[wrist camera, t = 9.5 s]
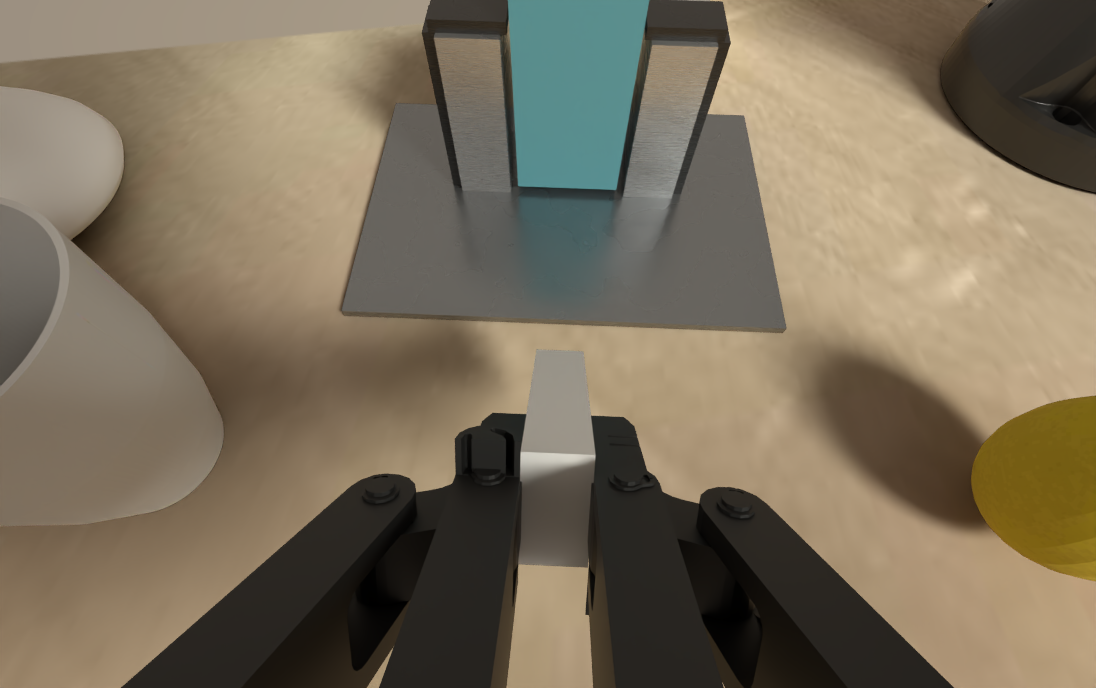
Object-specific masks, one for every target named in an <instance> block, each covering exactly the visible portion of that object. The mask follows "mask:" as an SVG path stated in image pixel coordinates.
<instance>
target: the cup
mask: <svg viewBox="0 0 1096 688" xmlns="http://www.w3.org/2000/svg"><path fill="white" fill-rule="evenodd" d="M223 439H224V426H223V421H222V418H221V415H220V413H219V411H218V409H217V407H216V405H215V403H214V401H213V399H212V397H211V394H210V392H209V390H208V388H207V386H206V384H205V382H204V380H203V378H202V376H201V375H200V373H199V372H198V370H197V369H196V368H195V367H194V365H193V364H192V363H191V362H190V361H189V359H188V358H187V357H186V356H185V355H184V353H183V352H182V351H181V350H180V349H179V347H178V346H177V345H176V344H175V343H174V341H173V340H172V339H171V338H170V337H169V335H168V334H167V333H166V332H165V330H164V329H163V328H162V327H161V326H160V324H159V323H158V322H157V321H156V320H155V318H154V317H153V316H152V315H151V314H150V313H149V311H148V310H147V309H146V308H144V307H143V306H142V305H141V304H140V303H139V302H138V301H137V300H136V299H135V298H133V297H132V296H131V295H130V294H129V293H128V292H127V291H126V290H125V289H123V288H122V287H121V286H120V285H119V284H118V283H117V282H116V281H115V280H114V279H112V278H111V277H110V276H109V275H108V274H107V273H106V272H105V271H104V270H103V269H101V268H100V267H99V266H98V265H97V264H96V263H95V262H94V261H93V260H92V259H90V258H89V257H88V256H87V255H86V254H85V253H84V252H83V251H82V250H81V249H79V248H78V247H77V246H76V245H75V244H74V243H73V242H72V241H71V240H70V239H68V238H67V237H66V236H65V235H64V234H63V233H62V232H61V231H60V230H58V229H57V228H56V227H55V226H54V225H53V224H52V223H51V222H50V221H49V220H47V219H46V218H45V217H44V216H43V215H41V214H40V213H39V212H37V211H35V210H34V209H32V208H30V207H28V206H26V205H24V204H21V203H19V202H16V201H13V200H10V199H6V198H2V197H0V526H39V525H82V524H91V523H96V522H102V521H107V520H113V519H118V518H123V517H129V516H134V515H139V514H145V513H150V512H154V511H158V510H161V509H164V508H166V507H168V506H170V505H172V504H174V503H176V502H178V501H180V500H181V499H183V498H184V497H186V496H187V495H188V494H190V493H191V492H192V491H193V490H194V489H196V488H197V487H198V486H199V485H200V484H201V483H202V482H203V480H204V479H205V478H206V477H207V476H208V474H209V473H210V471H211V470H212V468H213V467H214V465H215V463H216V461H217V459H218V457H219V455H220V452H221V449H222V445H223Z"/></svg>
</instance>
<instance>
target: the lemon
mask: <svg viewBox="0 0 1096 688" xmlns="http://www.w3.org/2000/svg"><path fill="white" fill-rule="evenodd" d="M971 485H972V491H973V496H974V500H975V502H976V504H977V507H978V509H979V512H980V514H981V515H982V517H983V518H984V519H985V521H986V522H987V524H988V525H989V527H990V528H991V529H992V530H993V531H994V532H995V533H996V534H997V535H998V536H999V537H1000V538H1001V539H1002V540H1003V541H1004V542H1005V543H1006V544H1007V545H1009V546H1010V547H1012V548H1013V549H1014V550H1016V551H1017V552H1018V553H1020V554H1021V555H1023V556H1024V557H1026V558H1028V559H1030V560H1032V561H1034V562H1036V563H1038V564H1040V565H1042V566H1044V567H1046V568H1048V569H1050V570H1053V571H1056V572H1059V573H1063V574H1066V575H1070V576H1074V577H1078V578H1082V579H1087V580H1091V581H1096V396H1089V397H1080V398H1073V399H1067V400H1062V401H1057V402H1054V403H1050V404H1046V405H1044V406H1041V407H1038V408H1036V409H1033V410H1031V411H1029V412H1027V413H1024V414H1022V415H1020V416H1018V417H1016V418H1013V419H1012V420H1010V421H1008V422H1007V423H1005V424H1004V425H1002V426H1001V427H1000V428H998V429H997V430H996V431H995V432H994V433H993V434H992V435H991V436H990V437H989V438H988V439H987V440H986V441H985V442H984V443H983V445H982V446H981V448H980V449H979V452H978V454H977V456H976V458H975V460H974V463H973V466H972V476H971Z"/></svg>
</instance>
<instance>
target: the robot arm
mask: <svg viewBox="0 0 1096 688" xmlns="http://www.w3.org/2000/svg"><path fill="white" fill-rule="evenodd" d="M941 82H942V86H943V90H944V92H945V95H946V97H947V99H948V101H949V103H950V105H951V106H952V108H953V109H954V111H955V112H956V113H957V115H958V116H959V117H960V118H961V120H962V121H963V122H964V123H965V124H966V125H967V126H968V127H969V128H970V129H971V130H972V131H973V132H974V133H975V134H976V135H977V136H978V137H980V138H981V139H982V140H983V141H985V142H986V143H987V144H989V145H990V146H991V147H993V148H994V149H995V150H997V151H998V152H1000V153H1001V154H1003V155H1004V156H1006V157H1008V158H1009V159H1011V160H1013V161H1015V162H1016V163H1018V164H1020V165H1022V166H1024V167H1026V168H1028V169H1030V170H1032V171H1034V172H1036V173H1038V174H1041V175H1043V176H1045V177H1048V178H1050V179H1053V180H1055V181H1058V182H1061V183H1064V184H1067V185H1070V186H1073V187H1076V188H1080V189H1084V190H1088V191H1092V192H1096V0H992V1H991V2H990V3H988V4H987V5H986V6H985V7H983V8H982V9H981V10H980V11H978V13H977V14H976V15H975V16H974V17H973V18H972V19H971V20H970V21H969V23H968V24H967V25H966V27H965V28H964V30H963V31H962V32H961V34H960V35H959V36H958V38H957V39H956V41H955V42H954V43H953V45H952V46H951V48H950V49H949V50H948V52H947V53H946V55H945V57H944V59H943V62H942V66H941ZM455 462H456V475H455V478H454V481H453V483H452V484H451V485H448V486H445V487H443V488H439V489H435V490H429V491H422V492H416V488H415V483H414V482H412V481H411V480H410V479H409V478H407V477H404V476H401V475H397V474H381V475H380V474H378V475H373V476H371V477H368V478H365V479H362V480H360V481H358V482H357V483H355V484H354V485H352V486H351V487H350V488H348V489H347V490H346V491H345V492H344V493H343V494H342V495H340V496H339V497H338V498H337V499H336V500H335V501H334V502H332V503H331V504H330V505H329V506H328V507H327V508H326V509H324V510H323V511H322V512H321V513H320V514H319V515H318V516H316V517H315V518H314V519H313V520H312V521H311V522H310V523H308V524H307V525H306V526H305V527H304V528H303V529H302V530H300V531H299V532H298V533H297V534H296V535H295V536H294V537H292V538H291V539H290V540H289V541H288V542H287V543H286V544H284V545H283V546H282V547H281V548H280V549H279V550H278V551H276V552H275V553H274V554H273V555H272V556H271V557H270V558H269V559H267V560H266V561H265V562H264V563H263V564H262V565H261V566H259V567H258V568H257V569H256V570H255V571H254V572H253V573H251V574H250V575H249V576H248V577H247V578H246V579H245V580H243V581H242V582H241V583H240V584H239V585H238V586H237V587H235V588H234V589H233V590H232V591H231V592H230V593H229V594H227V595H226V596H225V597H224V598H223V599H222V600H221V601H219V602H218V603H217V604H216V605H215V606H214V607H213V608H211V609H210V610H209V611H208V612H207V613H206V614H205V615H203V616H202V617H201V618H200V619H199V620H198V621H197V622H195V623H194V624H193V625H192V626H191V627H190V628H189V629H187V630H186V631H185V632H184V633H183V634H182V635H181V636H179V637H178V638H177V639H176V640H175V641H174V642H173V643H171V644H170V645H169V646H168V647H167V648H166V649H165V650H164V651H162V652H161V653H160V654H159V655H158V656H157V657H156V658H154V659H153V660H152V661H151V662H150V663H149V664H148V665H146V666H145V667H144V668H143V669H142V670H141V671H140V672H138V673H137V674H136V675H135V676H134V677H133V678H132V679H130V680H129V681H128V682H127V683H126V684H125V685H124V686H122V687H121V688H367V686H368V685H369V683H370V682H371V680H372V678H373V677H374V675H375V674H376V672H377V671H378V669H379V668H380V666H381V665H382V663H383V662H384V660H385V659H386V657H387V656H388V654H389V652H390V651H391V649H392V648H393V646H394V648H393V651H392V653H391V656H390V659H389V662H388V664H387V667H386V670H385V673H384V676H383V678H382V681H381V684H380V687H379V688H506V686H507V677H508V668H509V658H510V649H511V640H512V631H513V622H514V613H515V603H516V594H517V585H518V564H525V565H546V566H566V567H587V568H588V556H589V571H588V585H587V599H586V614H585V615H589V620H590V638H591V656H592V673H593V688H724V687H723V684H724V686H725V688H954V687H953V686H952V685H951V684H950V683H949V682H948V681H947V680H946V679H945V678H944V677H942V676H941V675H940V674H939V673H938V672H937V671H936V670H935V669H934V668H933V667H932V666H931V665H930V664H929V663H928V662H927V661H926V660H925V659H924V658H923V657H922V656H921V655H920V654H919V653H918V652H917V651H916V650H915V649H914V648H913V647H912V646H911V645H910V644H909V643H908V642H907V641H906V640H905V639H904V638H903V637H902V636H901V635H900V634H899V633H898V632H897V631H896V630H895V629H894V628H893V627H892V626H891V625H890V624H889V623H888V622H887V621H885V620H884V619H883V618H882V617H881V616H880V615H879V614H878V613H877V612H876V611H875V610H874V609H873V608H872V607H871V606H870V605H869V604H868V603H867V602H866V601H865V600H864V599H863V598H862V597H861V596H860V595H859V594H858V593H857V592H856V591H855V590H854V589H853V588H852V587H851V586H850V585H849V584H848V583H847V582H846V581H845V580H844V579H843V578H842V577H841V576H840V575H839V574H838V573H837V572H836V571H835V570H834V569H833V568H832V567H831V566H830V565H828V564H827V563H826V562H825V561H824V560H823V559H822V558H821V557H820V556H819V555H818V554H817V553H816V552H815V551H814V550H813V549H812V548H811V547H810V546H809V545H808V544H807V543H806V542H805V541H804V540H803V539H802V538H801V537H800V536H799V535H798V534H797V533H796V532H795V531H794V530H793V529H792V528H791V527H790V526H789V525H788V524H787V523H786V522H785V521H784V520H783V519H782V518H781V517H780V516H779V515H778V514H777V513H776V512H775V511H774V510H772V509H771V508H770V507H769V506H768V505H767V504H766V503H765V502H764V501H762V500H761V499H760V498H758V497H757V496H755V495H753V494H751V493H748V492H746V491H744V490H741V489H735V488H731V487H716V488H712V489H708V490H706V491H705V492H704V493H703V494H701V497H700V502H699V504H698V503H694V502H690V501H685V500H681V499H678V498H675V497H672V496H670V495H668V494H666V493H664V492H662V489H661V486H660V483H659V482H658V480H657V479H656V477H655V476H654V475H652V474H651V473H649V472H648V471H647V469H646V466H645V462H644V459H643V455H642V452H641V448H640V447H639V441H638V438H637V434H636V431H635V427H634V426H633V425H632V424H631V423H630V422H629V421H628V420H627V419H625V418H624V417H608V416H591V412H590V404H589V395H588V387H587V378H586V370H585V361H584V353H583V351H562V350H538V349H537V350H536V357H535V363H534V369H533V376H532V382H531V389H530V395H529V401H528V408H527V414H506V413H492V414H491V415H489V416H488V417H487V418H486V419H484V420H483V421H482V423H481V426H476V427H472V428H468V429H466V430H464V431H462V432H460V433H459V434H458V436H457V437H456V438H455ZM722 683H723V684H722Z"/></svg>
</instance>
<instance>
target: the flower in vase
mask: <svg viewBox="0 0 1096 688" xmlns="http://www.w3.org/2000/svg"><path fill="white" fill-rule="evenodd" d="M123 171H124V150H123V144H122V139H121V137H120V135H119V133H118V131H117V129H116V128H115V127H114V125H113V124H112V123H111V122H110V121H108V120H107V119H106V118H105V117H104V116H102V115H100V114H98V113H97V112H95V111H93V110H92V109H90V108H88V107H87V106H85V105H83V104H82V103H80V102H77V101H75V100H72V99H70V98H66V97H62V96H58V95H53V94H49V93H45V92H40V91H36V90H30V89H22V88H13V87H3V86H0V197H2V198H6V199H10V200H13V201H16V202H19V203H21V204H24V205H26V206H28V207H30V208H32V209H34V210H35V211H37V212H39V213H40V214H41V215H43V216H44V217H45V218H46V219H47V220H49V221H50V222H51V223H52V224H53V225H54V226H55V227H56V228H57V229H58V230H60V231H61V232H62V233H63V234H64V235H65V236H66V237H67V238H68V239H70V240H71V239H73V238H74V237H75V236H77V235H78V234H79V233H81V232H82V231H83V230H84V229H85V228H86V227H88V226H89V225H90V224H91V223H92V222H93V221H94V220H95V219H96V218H97V217H98V216H99V215H100V214H101V213H102V212H103V211H104V209H105V208H106V207H107V205H108V204H109V203H110V201H111V200H112V198H113V197H114V195H115V193H116V191H117V190H118V187H119V185H120V182H121V179H122V175H123Z"/></svg>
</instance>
